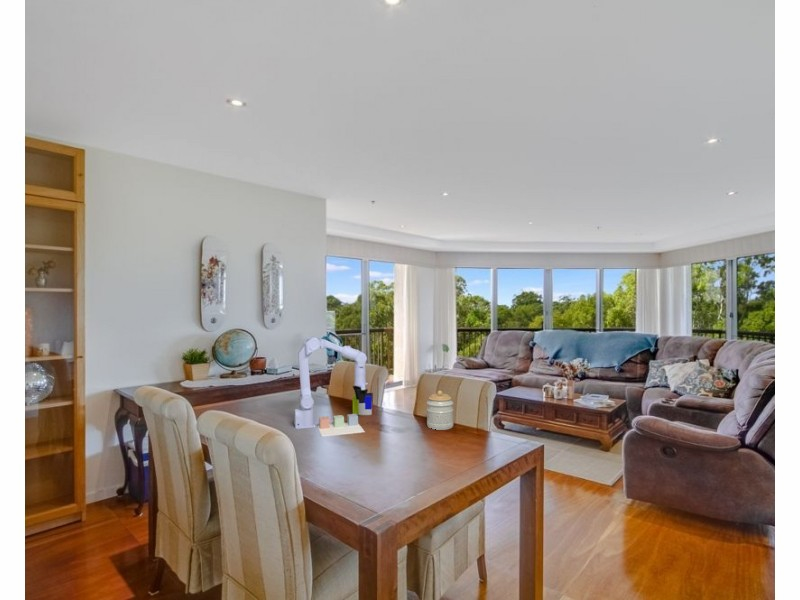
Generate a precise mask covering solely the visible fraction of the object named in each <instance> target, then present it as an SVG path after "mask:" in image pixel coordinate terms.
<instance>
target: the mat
mask: <svg viewBox="0 0 800 600" xmlns="http://www.w3.org/2000/svg"><path fill="white" fill-rule="evenodd" d="M317 428H318V431H319V433H320V434H321V437H323V438H324V437H332V436H340V435H350V434H351V435H353V434H361V433H366V431H365V430H364V429H363V427H362V426H361V424H359V423H358V425H355V426H349V425H348V424H347V422H344V427H334V425H333V423H330V428H326V429H320V427H319V424H318V425H317Z"/></svg>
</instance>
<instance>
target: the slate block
mask: <svg viewBox="0 0 800 600" xmlns="http://www.w3.org/2000/svg"><path fill="white" fill-rule="evenodd" d="M346 416H347V417H346V421H347V422H346V423H347V424H348V425H349V426H355V425H358V424H359V415H357V414H353V413H350V414H349V413H348V414H347V415H346Z"/></svg>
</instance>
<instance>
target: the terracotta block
mask: <svg viewBox="0 0 800 600" xmlns="http://www.w3.org/2000/svg"><path fill="white" fill-rule="evenodd" d="M330 420H331V419H330V417H329V416H328V415H327V416H319V417H318V425H319V427H320V429H326V428H330V424H331V423H330V422H331V421H330Z"/></svg>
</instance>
